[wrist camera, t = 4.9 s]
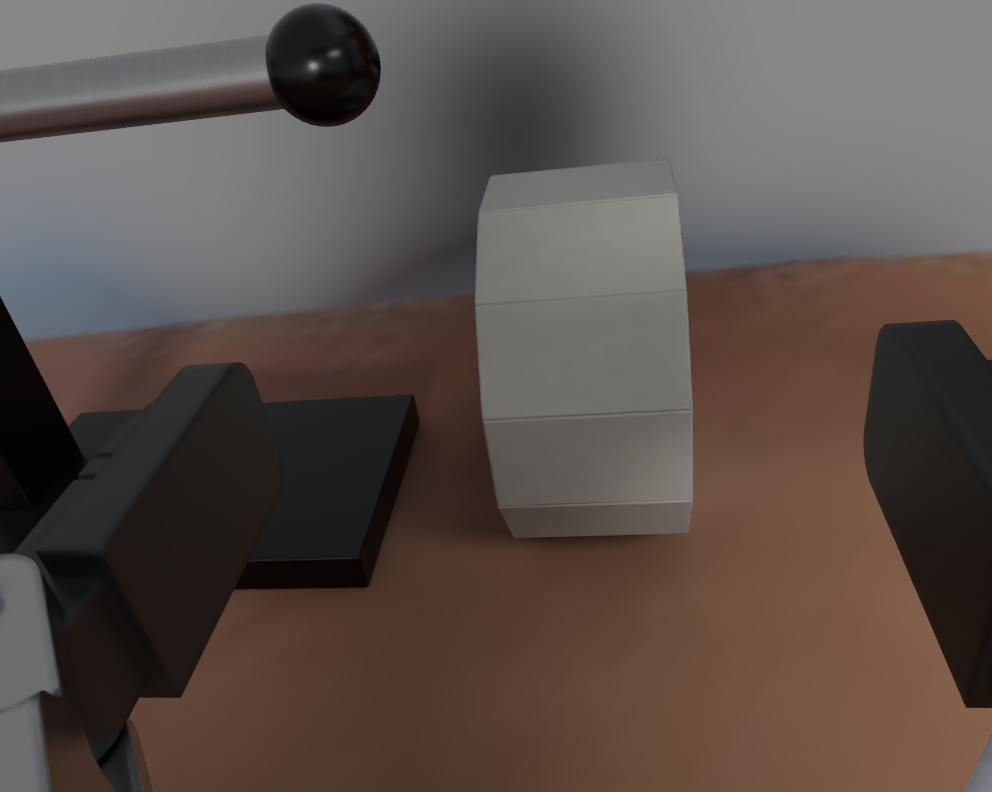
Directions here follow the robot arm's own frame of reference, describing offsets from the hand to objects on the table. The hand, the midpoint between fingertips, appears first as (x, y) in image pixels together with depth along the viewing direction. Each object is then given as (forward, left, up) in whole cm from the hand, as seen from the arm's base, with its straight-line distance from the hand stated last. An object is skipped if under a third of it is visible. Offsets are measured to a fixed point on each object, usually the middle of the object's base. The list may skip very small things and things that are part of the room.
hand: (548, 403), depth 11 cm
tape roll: (-2, -10, -10) cm, 15 cm away
